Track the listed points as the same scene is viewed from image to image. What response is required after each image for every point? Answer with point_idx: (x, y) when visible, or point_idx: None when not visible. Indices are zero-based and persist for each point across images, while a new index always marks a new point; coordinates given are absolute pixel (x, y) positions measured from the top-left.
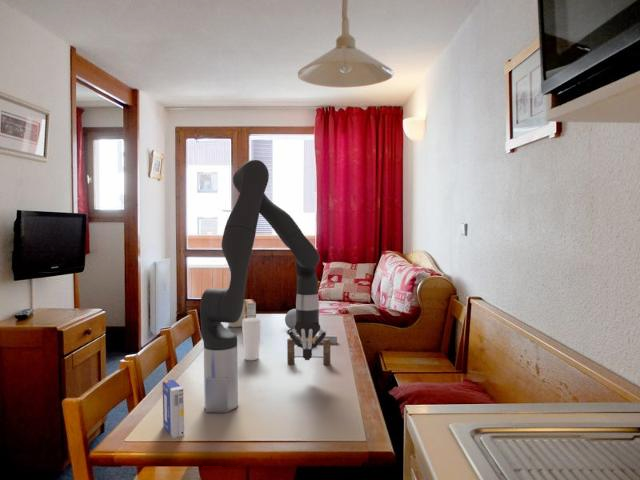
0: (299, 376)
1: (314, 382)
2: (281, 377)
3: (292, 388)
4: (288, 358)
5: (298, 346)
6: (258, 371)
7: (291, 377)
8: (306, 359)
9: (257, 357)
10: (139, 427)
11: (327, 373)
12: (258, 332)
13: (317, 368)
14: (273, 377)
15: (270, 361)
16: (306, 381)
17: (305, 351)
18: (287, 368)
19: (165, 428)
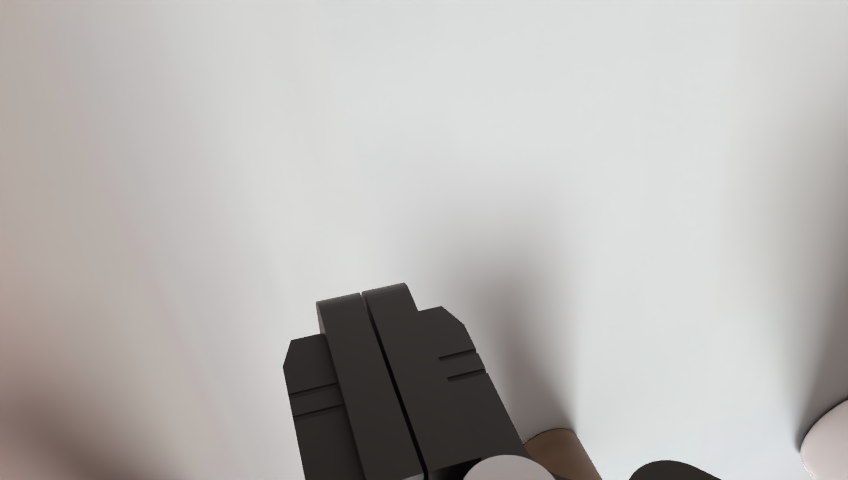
0: (419, 188)
1: (148, 21)
2: (629, 105)
3: None
4: (595, 477)
5: (674, 470)
6: (841, 207)
7: (512, 133)
8: (374, 292)
9: (821, 438)
10: None
11: (87, 365)
12: None
13: (263, 444)
14: (717, 84)
15: (714, 431)
16: (287, 37)
17: (447, 415)
18: (572, 350)
19: None
